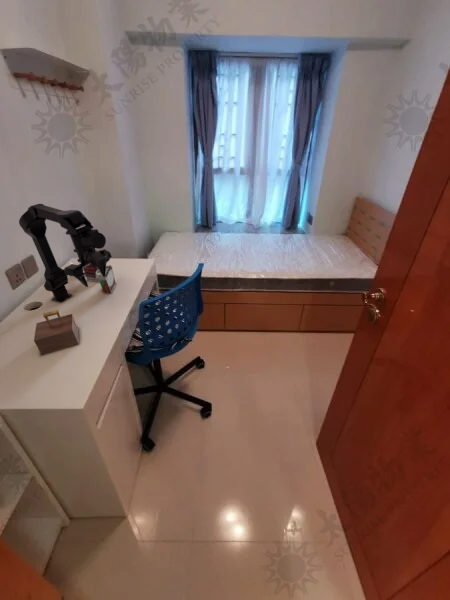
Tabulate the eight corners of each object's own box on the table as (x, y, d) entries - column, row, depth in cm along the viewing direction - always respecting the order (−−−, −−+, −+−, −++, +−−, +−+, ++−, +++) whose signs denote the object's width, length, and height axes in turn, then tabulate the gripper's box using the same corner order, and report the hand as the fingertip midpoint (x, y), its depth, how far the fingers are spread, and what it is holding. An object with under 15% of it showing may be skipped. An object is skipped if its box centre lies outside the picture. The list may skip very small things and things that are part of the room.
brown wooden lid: (37, 324, 106) (32, 314, 104) (72, 314, 110) (68, 305, 108) (34, 341, 98) (28, 331, 95) (73, 331, 102) (68, 321, 99)
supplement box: (106, 277, 149) (97, 250, 140) (100, 282, 145) (90, 254, 136) (93, 276, 151) (83, 248, 143) (86, 280, 147) (76, 252, 139)
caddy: (43, 338, 109) (37, 325, 106) (78, 328, 113) (72, 316, 110) (41, 355, 101) (34, 342, 98) (78, 344, 105) (73, 331, 102)
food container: (104, 283, 144) (98, 265, 138) (116, 282, 144) (111, 264, 139) (97, 296, 134) (91, 277, 128) (110, 294, 134) (104, 276, 128)
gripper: (77, 257, 97) (92, 296, 105) (115, 238, 110) (126, 274, 119) (55, 254, 101) (71, 291, 109) (95, 236, 115) (107, 270, 123)
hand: (95, 281), depth 115 cm, fingers open, 9 cm apart
